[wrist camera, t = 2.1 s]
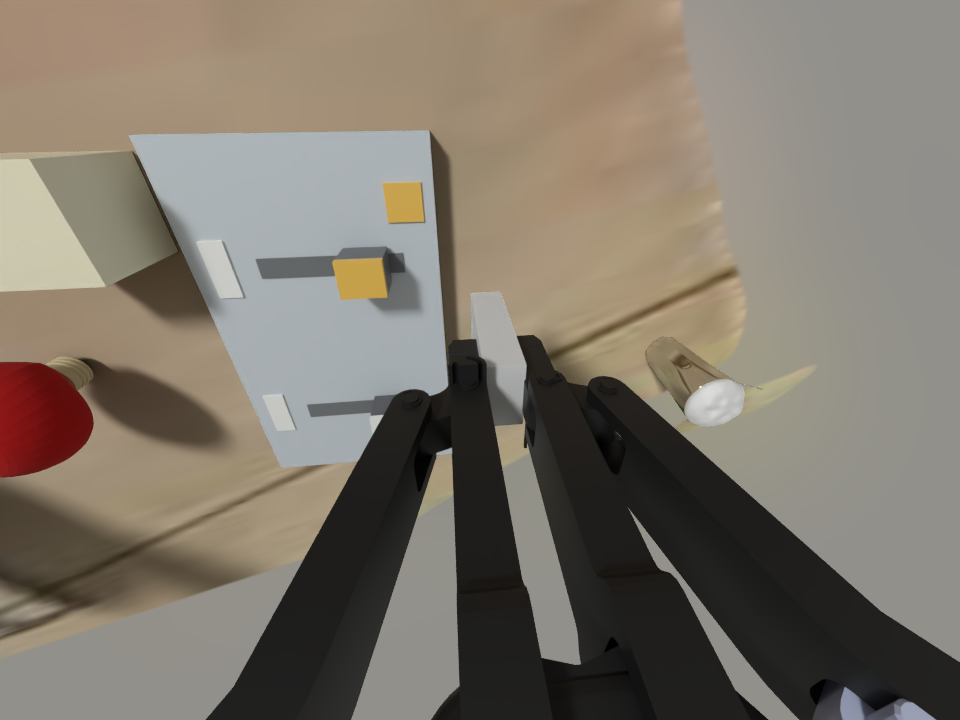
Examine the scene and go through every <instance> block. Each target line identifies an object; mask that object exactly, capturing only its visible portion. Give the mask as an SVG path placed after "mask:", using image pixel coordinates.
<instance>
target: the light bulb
mask: <svg viewBox="0 0 960 720" xmlns="http://www.w3.org/2000/svg"><path fill="white" fill-rule="evenodd" d="M92 379H93V372H92V370H91V368H90V367H89V366H88V365H87V364H86V363H85V362H84V361H81V360H78V359H76V358H73V357H67V356H62V357H58V358H55V359H54V360H52V361H50V362H49V363H47V364H46V365H44V364H41V363H31V362H0V477H14V476H21V475H27V474H31V473H35V472H39V471H42V470H45V469H47V468H50V467H52V466H54V465H57V464H59V463H61V462H63V461H65V460H67V459H68V458H70V457H71V456H73V455H74V454H75V453H76V452H78V451H79V450H80V449H81V448H82V447H83V446H84V445H85V444H86V442H87V441H88V439H89V437H90V435H91V432H92V429H93V424H94V423H93V416H92V412H91V410H90V408H89V406H88V404H87V402H86V401H85V400H84V398H83V397H82V396H81V395H80V393H79V392H78V390H79V389H80V388H82V387H83V386H84V385H86V384H87V383H89V382H90V381H91V380H92Z"/></svg>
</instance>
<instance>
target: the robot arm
mask: <svg viewBox="0 0 960 720" xmlns="http://www.w3.org/2000/svg"><path fill="white" fill-rule="evenodd" d="M470 297H471V334H472V339H468V340H453V341H452V343H451V344H450V346H449V365H448V370H449V385H448V387H447V388H446V389H445V390H443V391H442V392H440V393H437V394H435V395H431V396H429V394H428V393H426V392H425V391H423V390H418V389H409V390H405V391H402V392H400V393H398V394H397V395H396V396H395V397H394V398H393V399H392V401H391V402H390V404H389V406H388V408H387V410H386V411H385V413H384V415H383V417H382V419H381V420H380V422H379V424H378V426H377V428H376V430H375V431H374V433H373V435H372V437H371V439H370V440H369V442H368V444H367V446H366V448H365V449H364V451H363V453H362V455H361V457H360V459H359V460H358V462H357V464H356V466H355V468H354V469H353V471H352V473H351V475H350V477H349V478H348V480H347V482H346V484H345V486H344V488H343V489H342V491H341V493H340V495H339V497H338V498H337V500H336V502H335V504H334V506H333V508H332V509H331V511H330V513H329V515H328V517H327V518H326V520H325V522H324V524H323V526H322V527H321V529H320V531H319V533H318V535H317V537H316V538H315V540H314V542H313V544H312V546H311V547H310V549H309V551H308V553H307V555H306V556H305V558H304V560H303V562H302V564H301V566H300V567H299V569H298V571H297V573H296V575H295V577H294V578H293V580H292V582H291V584H290V585H289V587H288V589H287V591H286V593H285V595H284V596H283V598H282V600H281V602H280V604H279V605H278V607H277V609H276V611H275V613H274V614H273V616H272V618H271V620H270V622H269V624H268V625H267V627H266V629H265V631H264V633H263V635H262V636H261V638H260V640H259V642H258V644H257V645H256V647H255V649H254V651H253V653H252V655H251V656H250V658H249V660H248V662H247V663H246V665H245V667H244V669H243V671H242V673H241V675H240V676H239V678H238V680H237V682H236V683H235V685H234V687H233V688H232V690H231V691H230V692H229V693H228V694H227V695H226V696H225V698H224V699H223V700H222V701H221V702H220V703H219V705H218V706H217V707H216V708H215V709H214V711H213V712H212V713H211V714H210V715H209V716H208V718H207V719H206V720H351V718H352V715H353V712H354V709H355V707H356V703H357V701H358V697H359V694H360V691H361V688H362V685H363V682H364V679H365V676H366V673H367V669H368V667H369V663H370V660H371V657H372V654H373V651H374V648H375V645H376V642H377V639H378V636H379V633H380V630H381V626H382V623H383V620H384V617H385V614H386V610H387V608H388V605H389V602H390V599H391V596H392V592H393V589H394V586H395V583H396V580H397V577H398V573H399V571H400V568H401V565H402V561H403V558H404V555H405V552H406V549H407V546H408V543H409V540H410V537H411V533H412V530H413V527H414V524H415V521H416V518H417V515H418V512H419V509H420V506H421V503H422V500H423V497H424V494H425V491H426V487H427V484H428V481H429V478H430V475H431V472H432V469H433V466H434V463H435V460H436V453H438V452H441V451H444V450H447V449H450V448H452V464H453V491H454V517H455V543H456V544H455V545H456V573H457V621H458V622H457V624H458V650H459V680H460V686H459V687H458V688H457V689H456V690H455V691H454V692H453V693H452V694H450V695H449V697H448V698H447V699H446V700H445V701H444V702H443V704H442V705H441V706H440V707H439V709H438V711H437V712H436V714H435V715H434V716H433V718H432V719H431V720H768V719H767V718H766V717H765V716H764V715H762V714H761V713H760V712H759V711H758V710H757V709H756V708H755V707H754V706H752V705H751V704H750V703H749V702H748V701H747V700H745V698H743V697H742V696H741V695H740V694H739V693H738V692H737V691H735V689H734V687H733V685H732V683H731V681H730V679H729V677H728V676H727V674H726V672H725V670H724V668H723V666H722V664H721V662H720V660H719V658H718V656H717V654H716V652H715V651H714V648H713V647H712V645H711V643H710V641H709V639H708V637H707V635H706V633H705V631H704V629H703V627H702V626H701V623H700V621H699V620H698V618H697V616H696V614H695V612H694V610H693V608H692V606H691V604H690V602H689V600H688V598H687V596H686V594H685V592H684V590H683V589H682V587H681V586H680V584H679V582H678V581H677V579H676V578H675V577H674V576H673V575H672V574H671V573H668V572H665V571H662V570H660V569H659V568H658V567H657V566H656V564H655V562H654V560H653V558H652V556H651V554H650V552H649V550H648V548H647V546H646V544H645V542H644V540H643V538H642V536H641V533H640V531H639V529H638V527H637V525H636V523H635V521H634V519H633V517H632V515H631V513H630V511H629V509H630V510H631V512H632V513H633V514H634V515H635V517H636V518H637V519H638V520H639V522H640V523H641V524H642V526H643V527H644V528H645V530H646V531H647V532H648V534H649V535H650V536H651V537H652V539H653V540H654V541H655V543H656V544H657V545H658V547H659V548H660V549H661V550H662V552H663V553H664V554H665V556H666V557H667V558H668V559H669V561H670V562H671V563H672V565H673V566H674V567H675V569H676V570H677V571H678V572H679V574H680V575H681V576H682V578H683V579H684V580H685V581H686V583H687V584H688V585H689V587H690V588H691V589H692V590H693V592H694V593H695V594H696V596H697V597H698V598H699V599H700V601H701V602H702V603H703V605H704V606H705V607H706V609H707V610H708V611H709V613H710V614H711V615H712V616H713V618H714V619H715V620H716V622H717V623H718V624H719V625H720V627H721V628H722V629H723V631H724V632H725V633H726V635H727V636H728V637H729V638H730V640H731V641H732V642H733V644H734V645H735V646H736V648H737V649H738V650H739V651H740V653H741V654H742V655H743V656H744V658H745V659H746V660H747V662H748V663H749V664H750V665H751V667H753V669H754V670H755V671H756V673H757V674H758V675H759V676H760V677H761V678H762V680H763V681H764V682H765V683H766V685H767V686H768V687H769V688H770V689H771V690H772V691H773V692H774V694H775V695H776V696H777V697H778V698H779V699H780V700H781V701H782V702H783V703H784V704H785V705H786V706H787V707H788V708H789V709H790V711H791V712H792V713H793V714H794V715H795V716H796V717H797V718H798V719H799V720H960V662H958V661H957V660H955V659H953V658H952V657H951V656H949V655H947V654H946V653H944V652H943V651H941V650H940V649H938V648H937V647H935V646H933V645H932V644H930V643H929V642H927V641H926V640H924V639H923V638H921V637H919V636H918V635H917V634H915V633H913V632H912V631H910V630H909V629H907V628H906V627H904V626H903V625H901V624H899V623H898V622H896V621H895V620H893V619H892V618H890V617H889V616H887V615H885V614H884V613H883V612H881V611H880V610H879V609H878V608H877V607H875V606H874V605H873V604H872V603H871V602H870V601H869V600H868V599H866V598H865V597H864V596H863V595H862V594H861V593H859V592H858V591H857V590H856V589H855V588H854V587H853V586H852V585H851V584H849V583H848V582H847V581H846V580H845V579H844V578H843V577H842V576H840V575H839V574H838V573H837V572H836V571H835V570H834V569H833V568H831V567H830V566H829V565H828V564H827V563H826V562H825V561H824V560H822V559H821V558H820V557H819V556H818V555H817V554H816V553H814V552H813V551H812V550H811V549H810V548H809V547H808V546H806V545H805V544H804V543H803V542H802V541H801V540H800V539H799V538H797V537H796V536H795V535H794V534H793V533H792V532H791V531H790V530H789V529H787V528H786V527H785V526H784V525H783V524H782V523H781V522H780V521H778V520H777V519H776V518H775V517H774V516H773V515H772V514H771V513H769V512H768V511H767V510H766V509H765V508H764V507H763V506H762V505H760V504H759V503H758V502H757V501H756V500H755V499H754V498H752V497H751V496H750V495H749V494H748V493H747V492H745V490H743V489H742V488H741V487H740V486H739V485H738V484H737V483H736V482H734V481H733V480H732V479H731V478H730V477H729V476H728V475H727V474H725V473H724V472H723V471H722V470H721V469H720V468H719V467H717V466H716V465H715V464H714V463H713V462H712V461H711V460H710V459H708V458H707V457H706V456H705V455H704V454H703V453H702V452H701V451H699V450H698V449H697V448H696V447H695V446H694V445H693V444H692V443H690V442H689V441H688V440H687V439H686V438H685V437H684V436H683V435H682V434H680V433H679V432H678V431H677V430H676V429H675V428H674V427H672V426H671V425H670V424H669V423H668V422H667V421H665V419H663V418H662V417H661V416H660V415H659V414H658V413H657V412H656V411H654V410H653V409H652V408H651V407H650V406H649V405H648V404H647V403H645V402H644V401H643V400H642V399H641V398H640V397H639V396H638V395H636V394H635V393H634V392H633V391H632V390H631V389H630V388H629V387H627V386H626V385H625V384H624V383H623V382H621V381H619V380H618V379H615V378H612V377H606V376H600V377H595V378H593V379H591V380H590V382H589V384H588V386H583V385H576V384H572V383H569V382H567V381H566V379H565V377H564V376H563V375H562V374H561V373H559V372H558V371H555V370H554V368H553V366H552V364H551V362H550V359H549V357H548V355H547V354H546V351H545V349H544V346H543V344H542V342H541V340H539V339H538V338H537V337H535V336H534V335H526V336H516V334H515V331H514V328H513V325H512V322H511V320H510V317H509V314H508V311H507V308H506V305H505V303H504V300H503V297H502V294H501V292H479V293H470ZM523 415H524V418H525V422H526V423H525V436H524V448H527V443H528V447H529V450H530V454H531V458H532V462H533V465H534V469H535V472H536V476H537V480H538V484H539V488H540V491H541V495H542V499H543V503H544V506H545V510H546V514H547V517H548V521H549V525H550V529H551V533H552V536H553V540H554V544H555V548H556V551H557V555H558V559H559V562H560V566H561V570H562V574H563V578H564V581H565V585H566V589H567V593H568V596H569V600H570V604H571V608H572V611H573V615H574V619H575V623H576V627H577V632H578V642H579V654H580V661H581V664H580V665H573V664H568V663H563V662H558V661H553V660H548V659H544V658H541V654H540V649H539V643H538V638H537V633H536V628H535V622H534V617H533V612H532V607H531V602H530V597H529V594H528V591H527V588H526V586H525V585H524V583H523V580H522V576H521V570H520V565H519V559H518V554H517V548H516V543H515V537H514V532H513V526H512V521H511V515H510V509H509V504H508V498H507V493H506V487H505V482H504V476H503V471H502V465H501V460H500V454H499V449H498V443H497V437H496V432H495V426H499V425H513V424H522V423H523ZM617 433H618V434H619V435H620V436H621V437H622V438H621V437H620V436H619V435H618V434H617ZM627 506H628V507H627ZM628 508H629V509H628Z"/></svg>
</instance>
